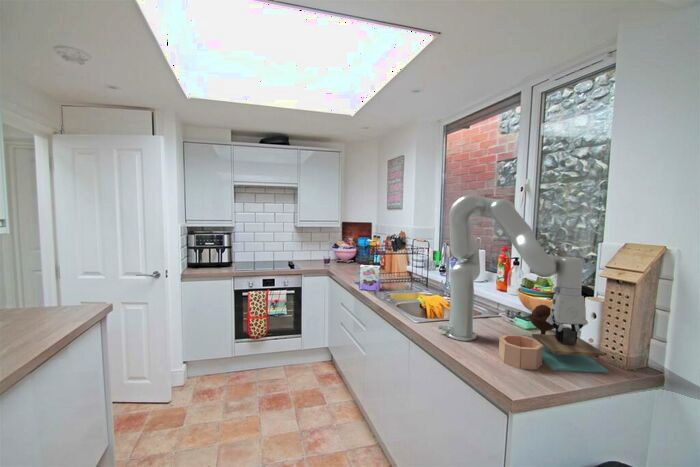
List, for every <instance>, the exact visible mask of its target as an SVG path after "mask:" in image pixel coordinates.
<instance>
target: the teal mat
mask: <svg viewBox="0 0 700 467" xmlns="http://www.w3.org/2000/svg"><path fill="white" fill-rule="evenodd" d="M542 363H543V364H545V365H546V366H547V367H548V368H549V369H550V370H552V371H568V372H570V371H571V372H586V373H587V372H588V373H606V374H607V373H609V369H607V368H605V367H604V366H602V365H601V364H599V363H598V362H597V361H595V360H593V359H592V358H590V357H589V356H588V355H566V354H554V353H553V352H552V351H550V350H549V349H548V348H547V347H545V346H543V353H542Z"/></svg>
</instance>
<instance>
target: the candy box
mask: <svg viewBox="0 0 700 467" xmlns="http://www.w3.org/2000/svg"><path fill="white" fill-rule="evenodd" d="M358 277H359V278H358V280H359V282H358V290H359V291H370V290H375V291H374V292H380V289H381V287H380V286H381V265H369V264H368V265H367V264H366V265H365V264H360V266H359V276H358ZM361 289H362V290H361Z"/></svg>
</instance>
